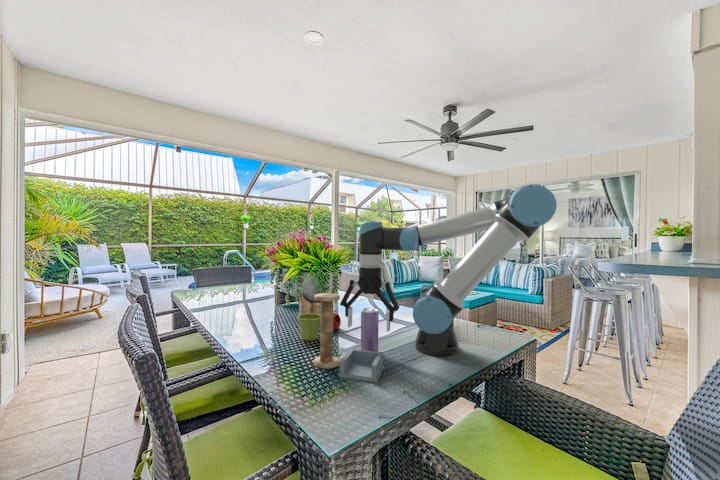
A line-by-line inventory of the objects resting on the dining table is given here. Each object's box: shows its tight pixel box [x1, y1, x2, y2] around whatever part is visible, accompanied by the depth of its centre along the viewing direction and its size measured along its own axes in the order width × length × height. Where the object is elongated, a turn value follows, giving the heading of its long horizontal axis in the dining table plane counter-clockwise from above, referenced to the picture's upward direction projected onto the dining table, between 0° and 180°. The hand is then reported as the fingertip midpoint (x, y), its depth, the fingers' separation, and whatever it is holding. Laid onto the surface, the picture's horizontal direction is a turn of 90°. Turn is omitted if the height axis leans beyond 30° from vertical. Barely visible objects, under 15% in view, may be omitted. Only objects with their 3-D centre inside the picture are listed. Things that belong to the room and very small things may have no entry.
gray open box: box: [338, 348, 385, 383], centre depth 92 cm, size 11×10×5 cm
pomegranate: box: [319, 310, 342, 332], centre depth 133 cm, size 10×10×9 cm
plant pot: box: [297, 313, 321, 342], centre depth 121 cm, size 9×9×9 cm
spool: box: [313, 292, 341, 370], centre depth 98 cm, size 8×8×22 cm
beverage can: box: [360, 307, 380, 352], centre depth 107 cm, size 6×6×15 cm
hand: (368, 328), depth 107 cm, fingers open, 13 cm apart
